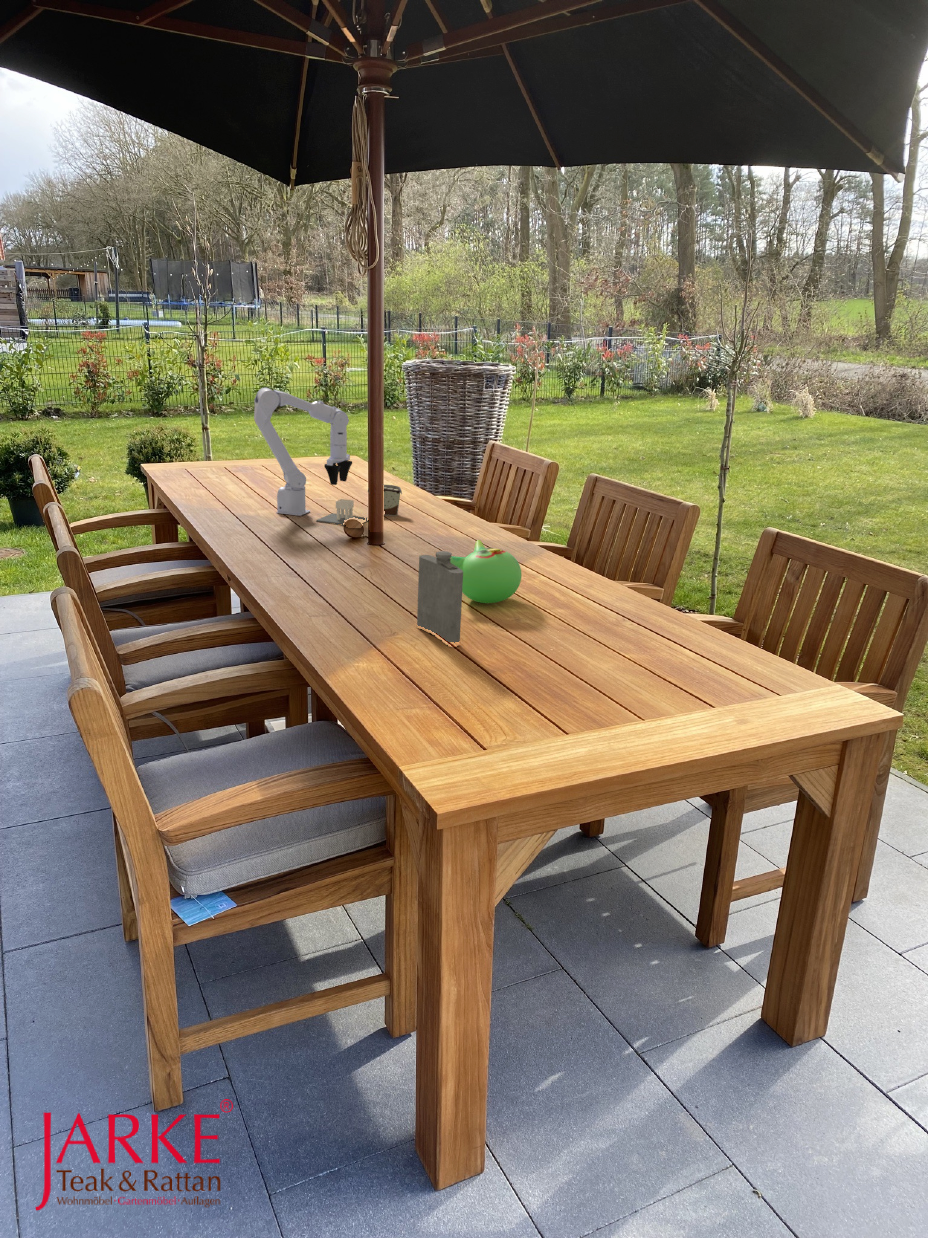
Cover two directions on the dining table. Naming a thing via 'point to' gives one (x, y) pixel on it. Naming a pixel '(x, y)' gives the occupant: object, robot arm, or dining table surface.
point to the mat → (335, 519)
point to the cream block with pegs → (347, 506)
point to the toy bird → (488, 574)
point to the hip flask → (440, 595)
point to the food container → (391, 499)
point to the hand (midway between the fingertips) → (338, 482)
